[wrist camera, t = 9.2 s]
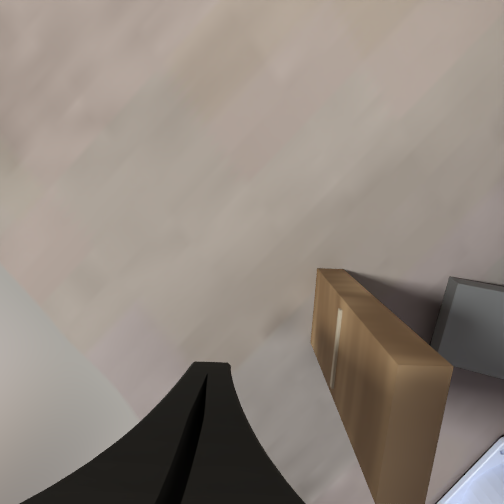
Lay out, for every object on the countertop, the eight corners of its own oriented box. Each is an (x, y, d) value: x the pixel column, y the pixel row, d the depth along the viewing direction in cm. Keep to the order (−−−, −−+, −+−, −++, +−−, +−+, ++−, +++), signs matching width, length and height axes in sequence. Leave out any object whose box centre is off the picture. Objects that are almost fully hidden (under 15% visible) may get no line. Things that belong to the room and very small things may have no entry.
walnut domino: (308, 342, 19) (371, 504, 10) (315, 268, 18) (394, 365, 8) (337, 343, 19) (428, 505, 10) (345, 269, 18) (457, 366, 8)
